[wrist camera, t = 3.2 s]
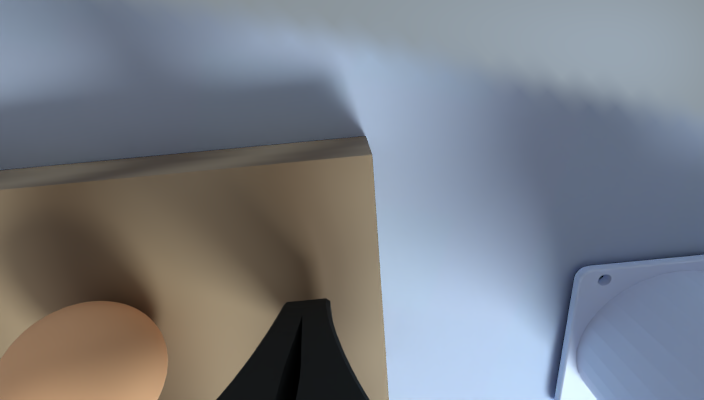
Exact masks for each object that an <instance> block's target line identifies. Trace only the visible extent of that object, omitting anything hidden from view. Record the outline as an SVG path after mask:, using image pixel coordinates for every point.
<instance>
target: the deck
mask: <svg viewBox="0 0 704 400" xmlns="http://www.w3.org/2000/svg"><path fill="white" fill-rule="evenodd" d="M323 298H327V299H328V300H329V301H330V303H331V310H332V318H333V323H334V327H335V330H336V333H337V336H338V338H339V341H340V343H341V346H342V348H343V351H344V353H345V355H346V357H347V359H348V361H349V363H350V366H351V368H352V370H353V372H354V373H355V375H356V377H357V379H358V381H359V383H360V384H361V386H362V388H363V389H364V391H365V393H366V394H367V396H368V398H369V399H370V400H389V396H388V381H387V367H386V352H385V337H384V322H383V307H382V292H381V278H380V263H379V248H378V233H377V218H376V203H375V189H374V174H373V159H372V153H371V150H370V147H369V144H368V141H367V139H366V136H360V137H350V138H339V139H329V140H318V141H307V142H297V143H286V144H276V145H265V146H254V147H244V148H233V149H222V150H212V151H201V152H191V153H180V154H169V155H159V156H148V157H138V158H127V159H116V160H106V161H95V162H85V163H74V164H63V165H53V166H42V167H32V168H21V169H10V170H0V360H1V358H2V356H3V355H4V353H5V352H6V351H7V349H8V348H9V347H10V346H11V344H12V343H13V342H14V341H15V340H16V339H17V338H18V337H19V336H20V335H21V334H22V333H23V332H24V331H25V330H26V329H28V328H29V327H30V326H32V325H33V324H34V323H36V322H37V321H39V320H40V319H42V318H44V317H45V316H47V315H49V314H51V313H53V312H55V311H58V310H60V309H62V308H65V307H68V306H71V305H75V304H79V303H83V302H91V301H111V302H118V303H122V304H126V305H129V306H131V307H134V308H136V309H138V310H140V311H141V312H143V313H144V314H146V315H147V316H148V317H149V318H150V319H151V320H152V321H153V322H154V323H155V324H156V326H157V327H158V328H159V330H160V331H161V333H162V335H163V338H164V340H165V343H166V347H167V354H168V367H167V375H166V379H165V383H164V386H163V389H162V391H161V394H160V396H159V398H158V400H216V399H217V398H218V397H219V396H220V395H221V393H222V392H223V391H224V390H225V389H226V387H227V386H228V385H229V384H230V383H231V381H232V380H233V379H234V378H235V376H236V375H237V374H238V372H239V371H240V370H241V369H242V367H243V366H244V365H245V363H246V362H247V361H248V359H249V358H250V357H251V355H252V354H253V353H254V351H255V350H256V348H257V347H258V345H259V344H260V342H261V341H262V339H263V338H264V336H265V335H266V333H267V332H268V330H269V329H270V327H271V326H272V324H273V322H274V321H275V319H276V317H277V316H278V314H279V312H280V311H281V309H282V307H283V306H284V304H285V303H286V302H292V301H303V300H313V299H323Z"/></svg>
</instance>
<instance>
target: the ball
mask: <svg viewBox="0 0 704 400" xmlns="http://www.w3.org/2000/svg"><path fill="white" fill-rule="evenodd" d="M167 367H168V354H167V347H166V343H165V340H164V338H163V335H162V333H161V331H160V330H159V328H158V327H157V326H156V324H155V323H154V322H153V321H152V320H151V319H150V318H149V317H148V316H147V315H146V314H144V313H143V312H141V311H140V310H138V309H136V308H134V307H131V306H129V305H126V304H122V303H118V302H111V301H91V302H83V303H79V304H75V305H71V306H68V307H65V308H62V309H60V310H58V311H55V312H53V313H51V314H49V315H47V316H45V317H44V318H42V319H40V320H39V321H37V322H36V323H34V324H33V325H32V326H30V327H29V328H28V329H26V330H25V331H24V332H23V333H22V334H21V335H20V336H19V337H18V338H17V339H16V340H15V341H14V342H13V343H12V344H11V346H10V347H9V348H8V349H7V351H6V352H5V353H4V355H3V356H2V358H1V360H0V400H158V398H159V396H160V394H161V391H162V389H163V386H164V383H165V379H166V375H167Z"/></svg>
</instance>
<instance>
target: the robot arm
mask: <svg viewBox="0 0 704 400" xmlns="http://www.w3.org/2000/svg"><path fill="white" fill-rule="evenodd" d="M602 275H604V276H603V277H602V278H601V279H599V278H600V277H601V276H602ZM216 400H370V399H369V398H368V396H367V394H366V393H365V391H364V389H363V388H362V386H361V384H360V383H359V381H358V379H357V377H356V375H355V373H354V372H353V370H352V368H351V366H350V363H349V361H348V359H347V357H346V355H345V353H344V351H343V348H342V346H341V343H340V341H339V338H338V336H337V333H336V330H335V327H334V323H333V318H332V310H331V303H330V301H329V300H328V299H327V298H323V299H313V300H303V301H292V302H286V303H285V304H284V306H283V307H282V309H281V311H280V312H279V314H278V316H277V317H276V319H275V321H274V322H273V324H272V326H271V327H270V329H269V330H268V332H267V333H266V335H265V336H264V338H263V339H262V341H261V342H260V344H259V345H258V347H257V348H256V350H255V351H254V353H253V354H252V355H251V357H250V358H249V359H248V361H247V362H246V363H245V365H244V366H243V367H242V369H241V370H240V371H239V372H238V374H237V375H236V376H235V378H234V379H233V380H232V381H231V383H230V384H229V385H228V386H227V387H226V389H225V390H224V391H223V392H222V393H221V395H220V396H219V397H218V398H217V399H216ZM554 400H704V255H695V256H685V257H674V258H664V259H654V260H643V261H633V262H622V263H612V264H602V265H591V266H586V267H583V268H581V269H580V270H579V271H578V272H577V273H576V275H575V277H574V283H573V289H572V295H571V301H570V307H569V313H568V319H567V325H566V331H565V337H564V343H563V349H562V355H561V361H560V367H559V373H558V379H557V385H556V392H555V398H554Z"/></svg>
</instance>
